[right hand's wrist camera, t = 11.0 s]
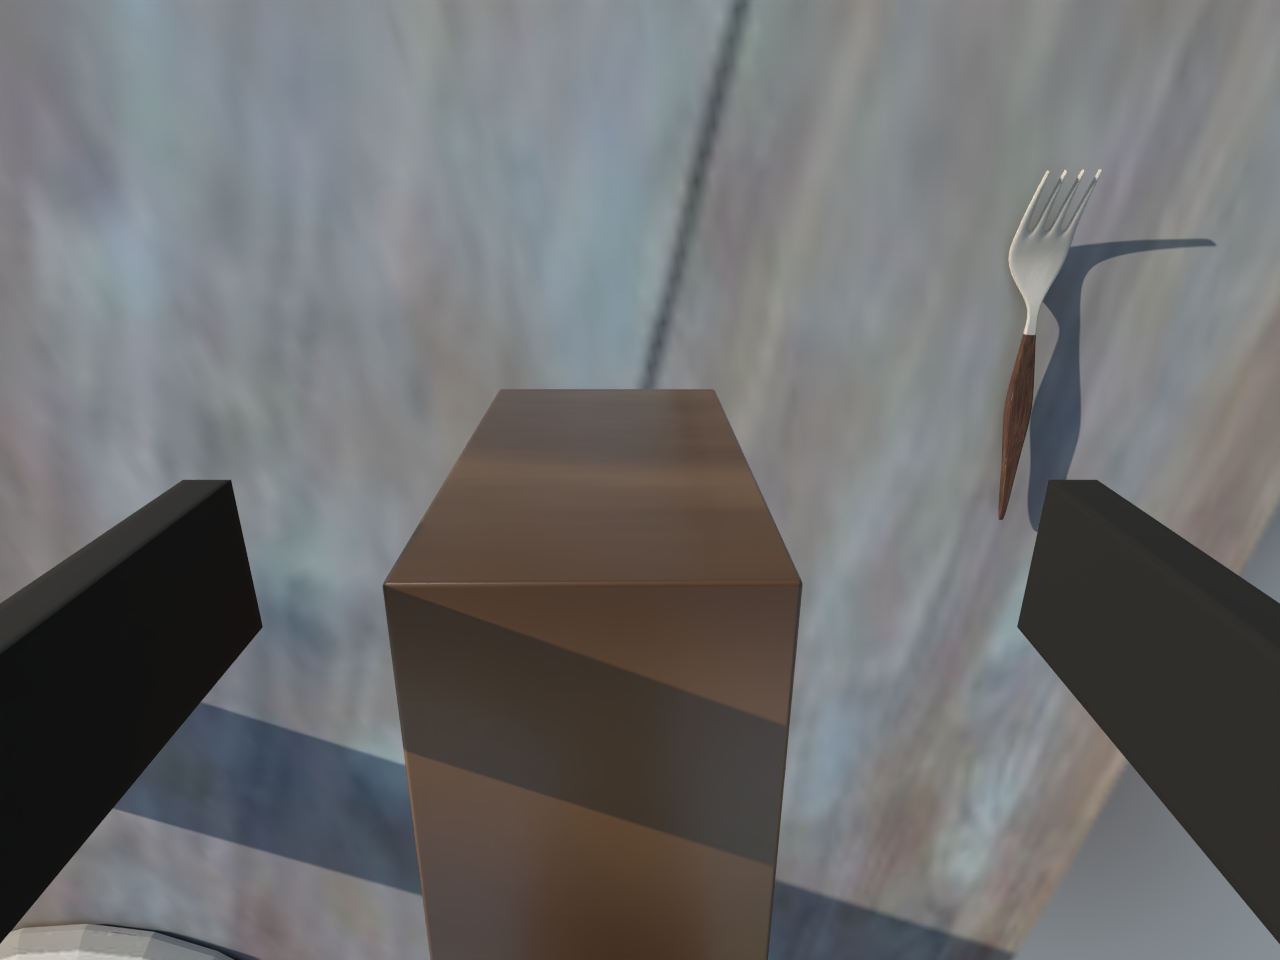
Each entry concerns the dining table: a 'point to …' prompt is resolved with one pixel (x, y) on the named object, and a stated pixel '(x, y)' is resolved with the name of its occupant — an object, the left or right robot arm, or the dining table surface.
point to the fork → (1033, 314)
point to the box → (596, 684)
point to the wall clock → (99, 945)
